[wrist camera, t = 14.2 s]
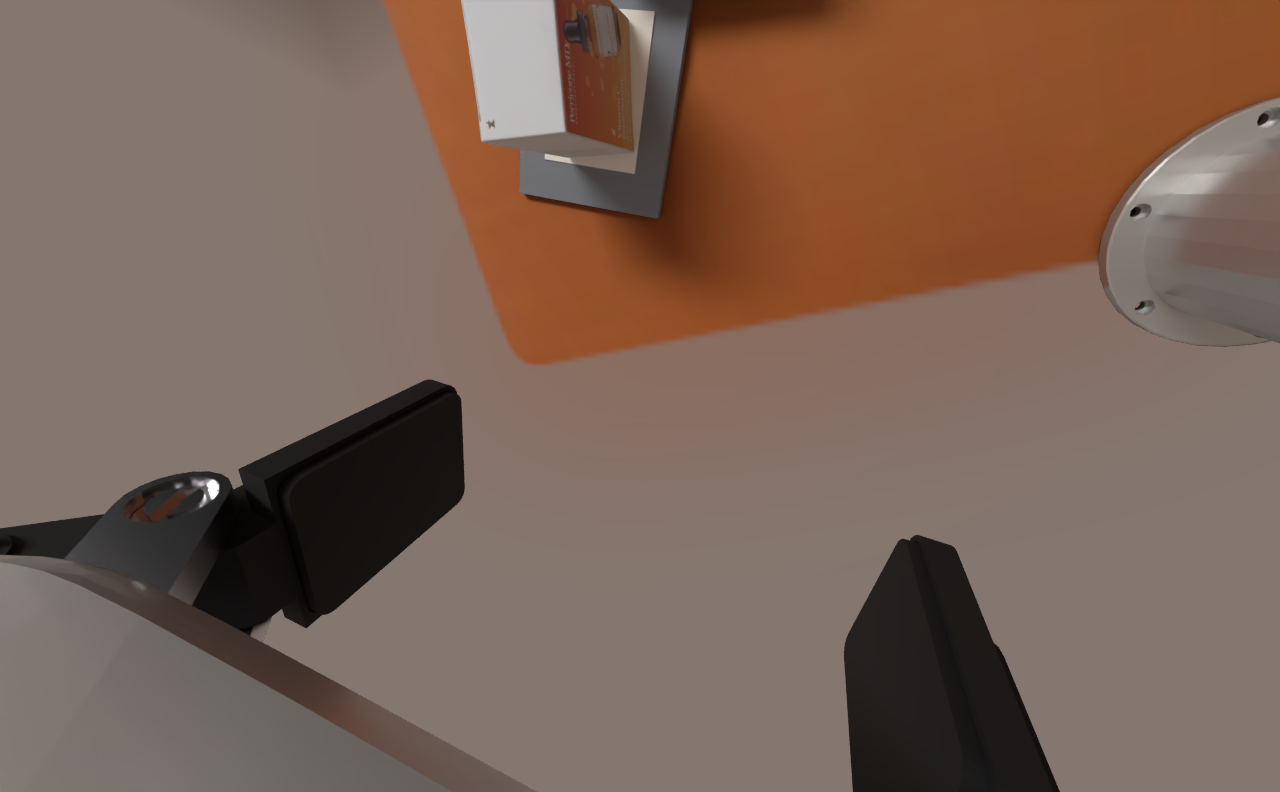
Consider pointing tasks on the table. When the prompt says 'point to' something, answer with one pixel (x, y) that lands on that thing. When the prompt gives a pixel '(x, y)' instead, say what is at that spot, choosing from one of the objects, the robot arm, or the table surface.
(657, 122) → the board
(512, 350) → the table surface
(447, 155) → the table surface
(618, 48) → the small box
